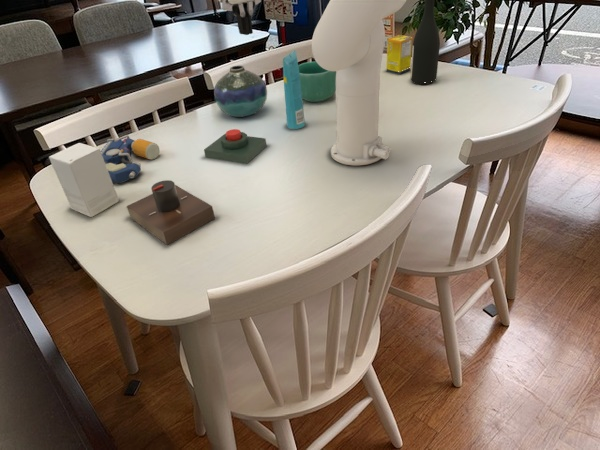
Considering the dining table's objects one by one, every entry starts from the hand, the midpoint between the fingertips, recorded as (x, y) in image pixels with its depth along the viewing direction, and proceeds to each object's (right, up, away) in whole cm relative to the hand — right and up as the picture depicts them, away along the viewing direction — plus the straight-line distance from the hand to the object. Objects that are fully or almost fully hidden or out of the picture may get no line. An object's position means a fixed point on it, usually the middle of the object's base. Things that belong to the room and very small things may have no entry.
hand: (246, 33), depth 109 cm
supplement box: (+47, +7, +47) cm, 67 cm away
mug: (+19, -6, +33) cm, 39 cm away
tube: (+12, -19, +15) cm, 27 cm away
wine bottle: (+52, 0, +37) cm, 64 cm away
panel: (-13, -45, -18) cm, 50 cm away
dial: (-13, -42, -20) cm, 48 cm away
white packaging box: (-31, -42, -11) cm, 53 cm away
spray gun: (-30, -31, +4) cm, 43 cm away
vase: (-4, -13, +26) cm, 30 cm away
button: (-3, -25, +3) cm, 25 cm away
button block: (-3, -28, +5) cm, 28 cm away
